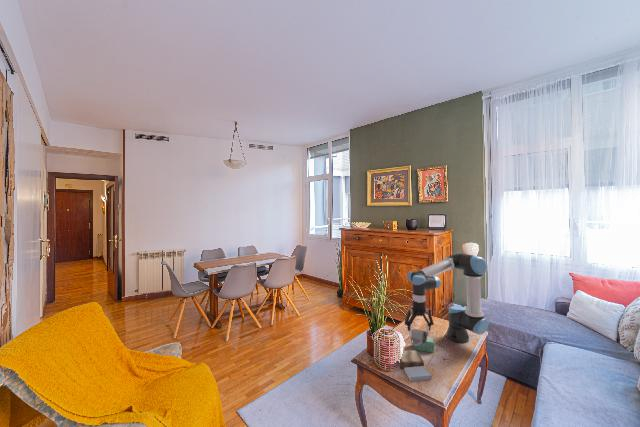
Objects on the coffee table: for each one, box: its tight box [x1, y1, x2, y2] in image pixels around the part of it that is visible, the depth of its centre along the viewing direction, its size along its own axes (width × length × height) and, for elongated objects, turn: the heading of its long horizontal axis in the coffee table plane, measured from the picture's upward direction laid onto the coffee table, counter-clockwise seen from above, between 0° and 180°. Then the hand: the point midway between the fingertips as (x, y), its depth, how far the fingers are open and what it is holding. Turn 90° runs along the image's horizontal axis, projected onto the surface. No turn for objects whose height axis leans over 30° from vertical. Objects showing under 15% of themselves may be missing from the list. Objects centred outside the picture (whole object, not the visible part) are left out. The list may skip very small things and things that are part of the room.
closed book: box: [403, 365, 432, 382], centre depth 158 cm, size 12×9×2 cm
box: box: [412, 336, 435, 354], centre depth 187 cm, size 7×14×8 cm, turn 70°
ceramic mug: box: [410, 328, 428, 347], centre depth 166 cm, size 11×8×8 cm
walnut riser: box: [399, 349, 425, 370], centre depth 171 cm, size 14×14×4 cm
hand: (418, 335), depth 167 cm, fingers closed on ceramic mug, 10 cm apart
